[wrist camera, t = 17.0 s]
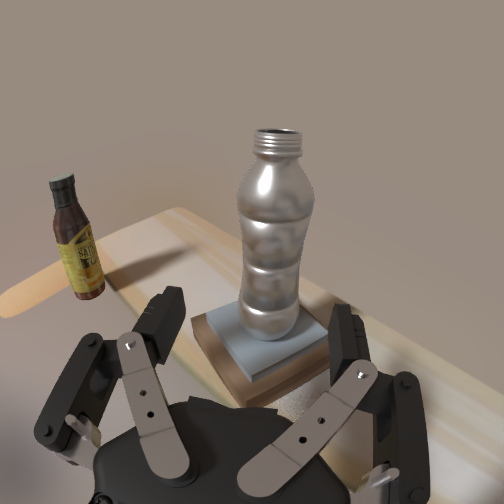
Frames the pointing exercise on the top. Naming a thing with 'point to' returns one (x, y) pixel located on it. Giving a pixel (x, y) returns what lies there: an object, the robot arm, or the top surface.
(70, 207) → the sauce bottle
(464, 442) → the top surface
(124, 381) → the robot arm
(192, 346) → the top surface
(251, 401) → the plinth
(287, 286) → the silver bottle
